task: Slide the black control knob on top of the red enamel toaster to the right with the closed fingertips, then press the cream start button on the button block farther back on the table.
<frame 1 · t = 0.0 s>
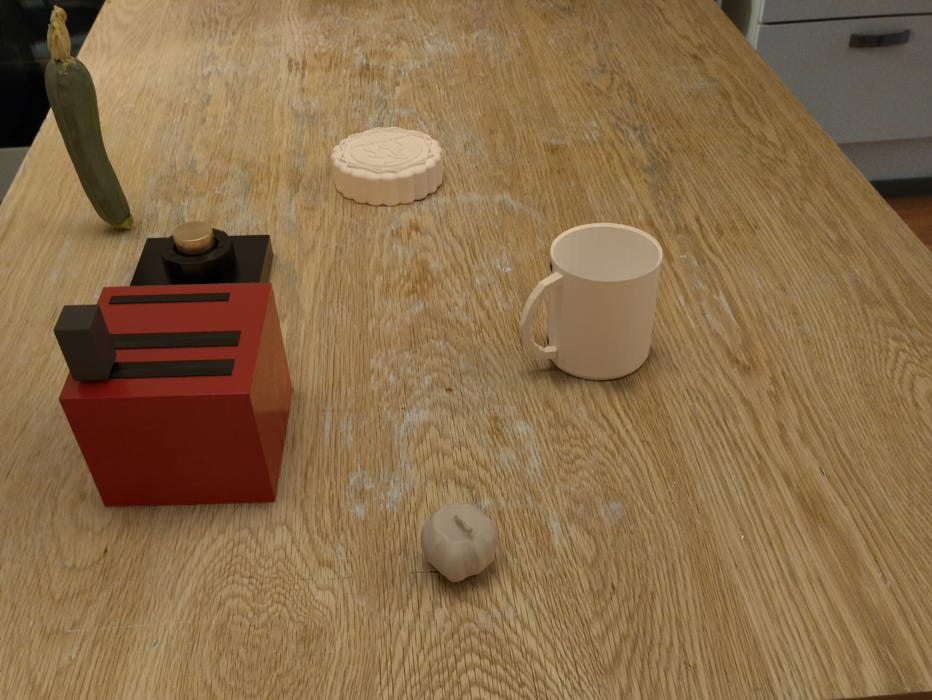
toaster slider: (86, 342, 65), point 12 cm above the table, slide at 0.0 cm
toaster: (204, 444, 78), on the table
mug: (581, 355, 85), on the table
button block: (205, 284, 93), on the table
garlic: (460, 565, 69), on the table
mooncake: (389, 182, 105), on the table
vegetable: (116, 231, 100), on the table
start button: (194, 239, 89), point 4 cm above the table, slide at 0.1 cm
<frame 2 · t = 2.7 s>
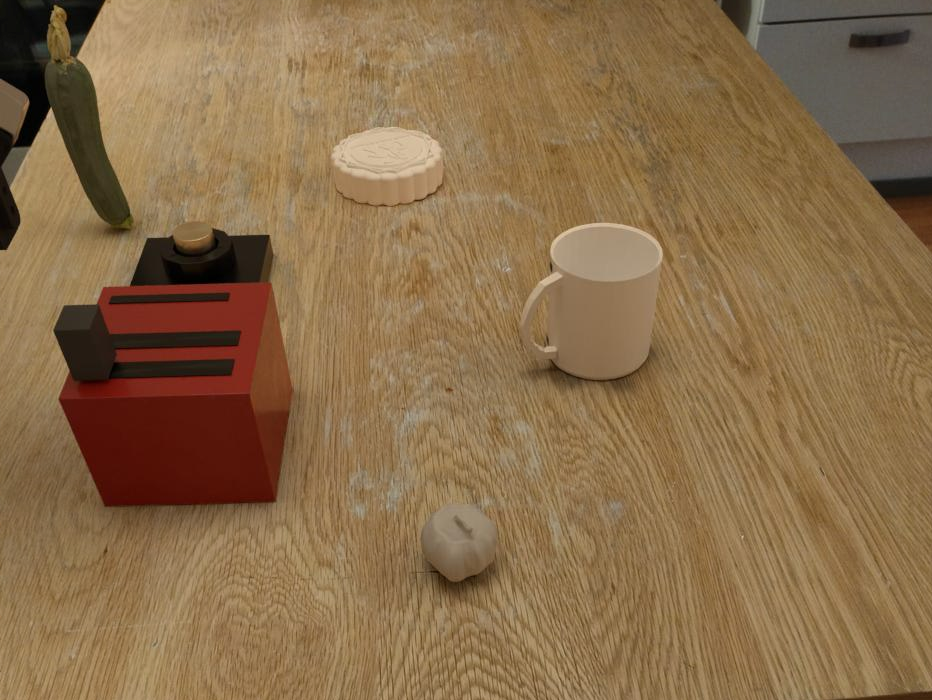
nothing on the table moved.
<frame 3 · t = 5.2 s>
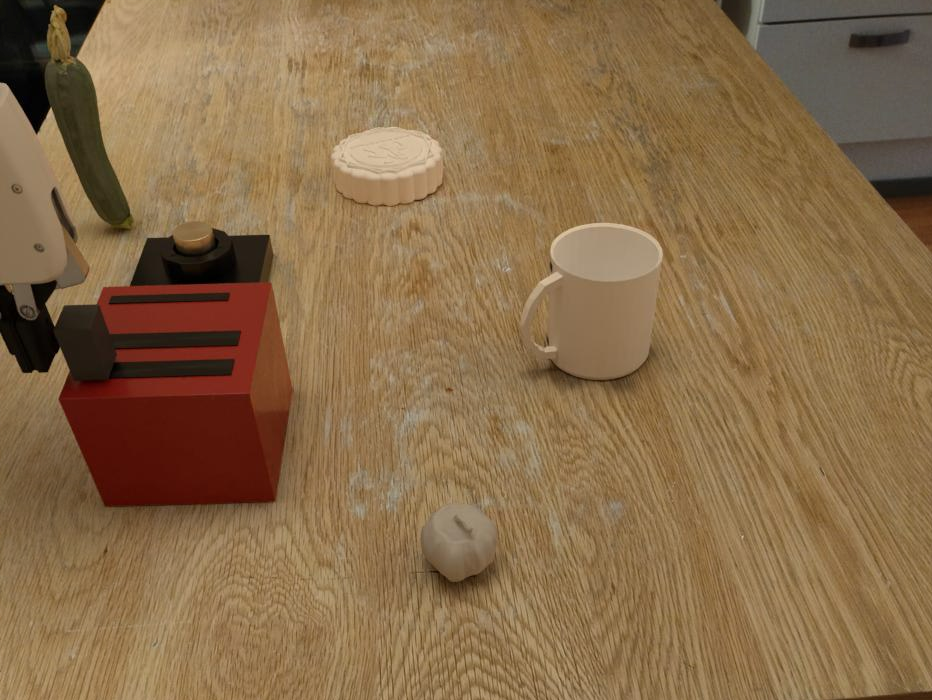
hand: (41, 360, 66), 11 cm above the table, tool pointing down, fingers closed
toaster slider: (86, 342, 65), point 12 cm above the table, slide at 0.0 cm, touching gripper
everything else where it was.
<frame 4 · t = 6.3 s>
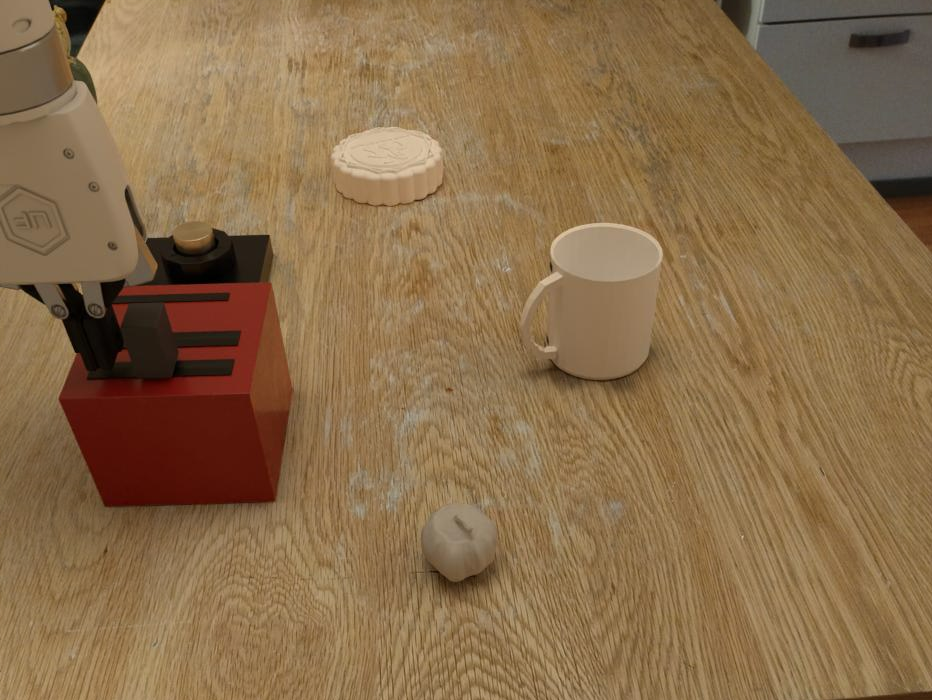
hand: (104, 358, 66), 11 cm above the table, tool pointing down, fingers closed
toaster slider: (150, 341, 65), point 12 cm above the table, slide at 4.4 cm, touching gripper
everything else where it was.
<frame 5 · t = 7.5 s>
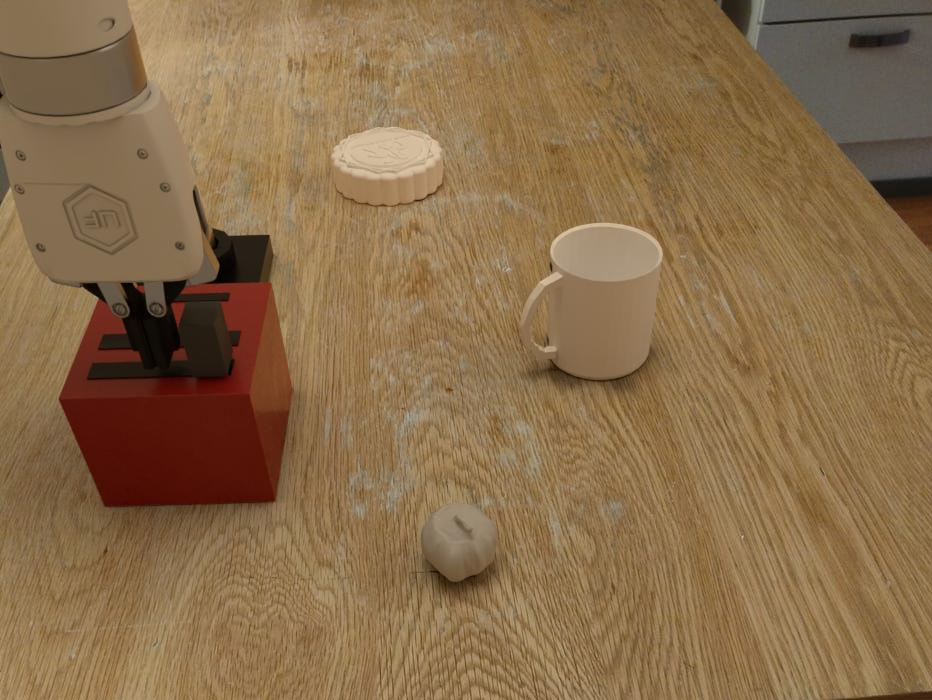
hand: (160, 357, 66), 11 cm above the table, tool pointing down, fingers closed
toaster slider: (206, 339, 65), point 12 cm above the table, slide at 8.2 cm, touching gripper
everything else where it was.
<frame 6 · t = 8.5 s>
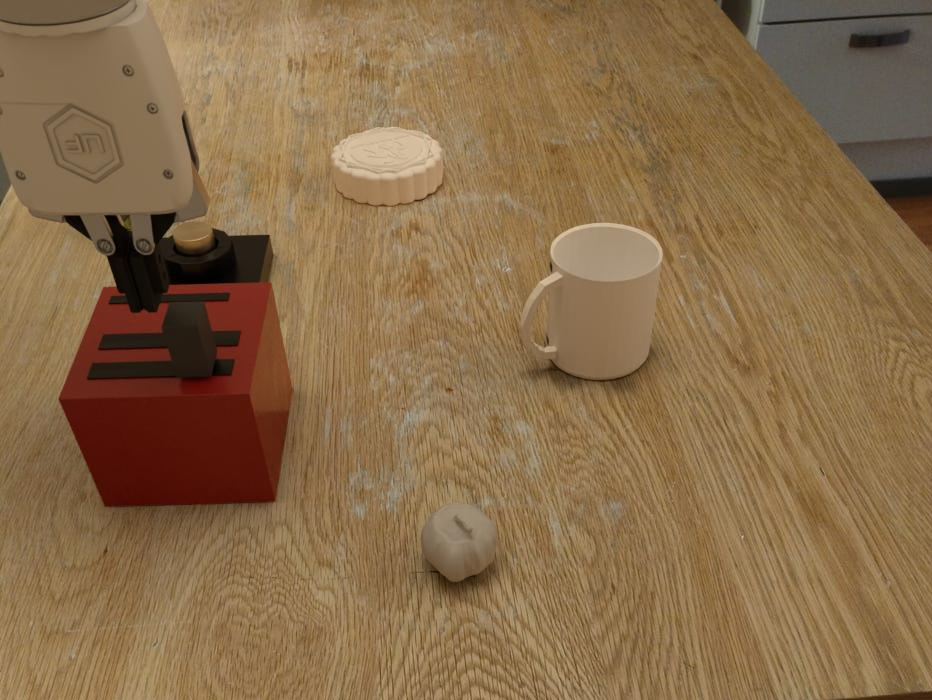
hand: (148, 300, 63), 15 cm above the table, tool pointing down, fingers closed
toaster slider: (190, 339, 65), point 12 cm above the table, slide at 7.1 cm
everything else where it was.
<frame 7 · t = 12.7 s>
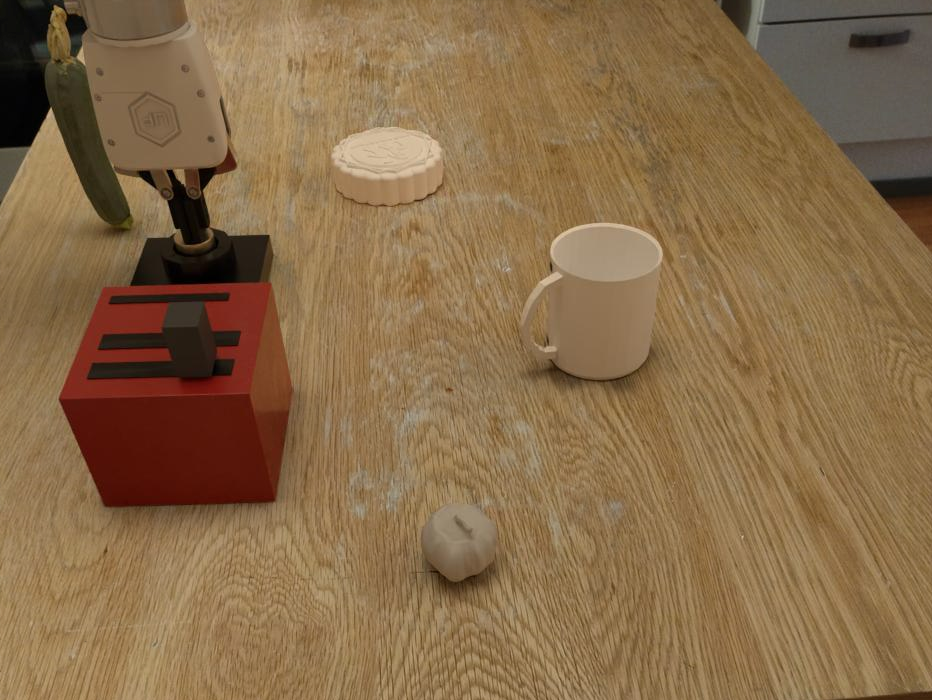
hand: (195, 234, 89), 5 cm above the table, tool pointing down, fingers closed
start button: (195, 244, 89), point 4 cm above the table, slide at -0.3 cm, touching gripper
everything else where it was.
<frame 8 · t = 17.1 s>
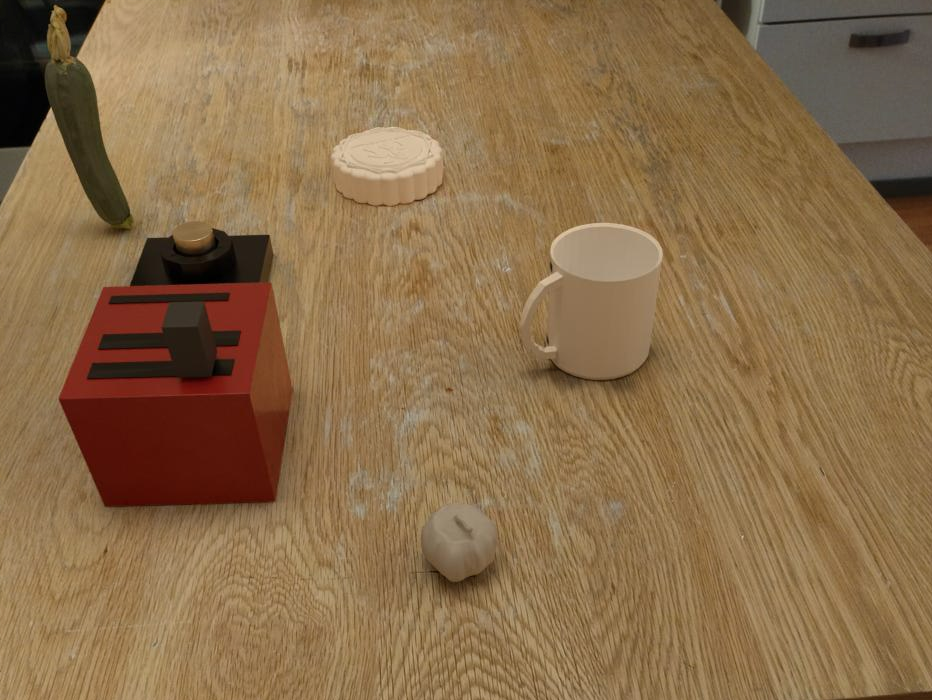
start button: (194, 239, 89), point 4 cm above the table, slide at 0.1 cm
everything else where it was.
at the end: toaster slider slide at 7.1 cm; start button pushed in 1.1 cm at the most during the clip, back to where it started at the end; start button slide at 0.1 cm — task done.
